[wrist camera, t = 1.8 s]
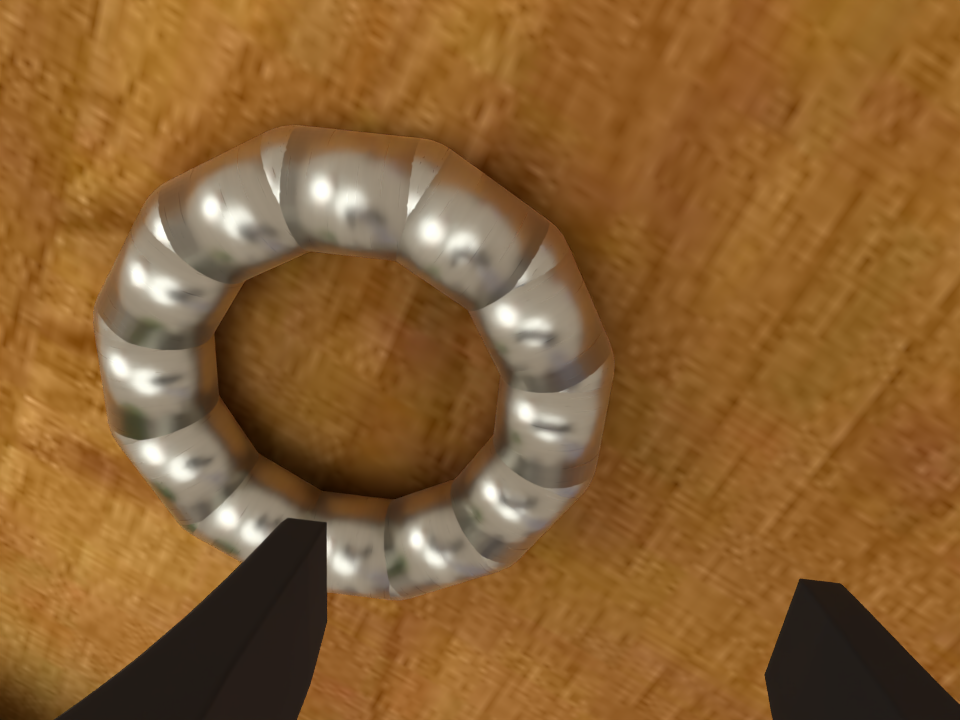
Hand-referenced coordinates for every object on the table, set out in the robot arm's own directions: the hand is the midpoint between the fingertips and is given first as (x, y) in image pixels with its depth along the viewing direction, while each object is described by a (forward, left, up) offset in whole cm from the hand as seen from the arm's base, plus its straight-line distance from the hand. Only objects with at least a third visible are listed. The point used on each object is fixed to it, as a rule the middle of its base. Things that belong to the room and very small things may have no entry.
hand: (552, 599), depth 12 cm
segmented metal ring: (0, +4, -6) cm, 7 cm away
